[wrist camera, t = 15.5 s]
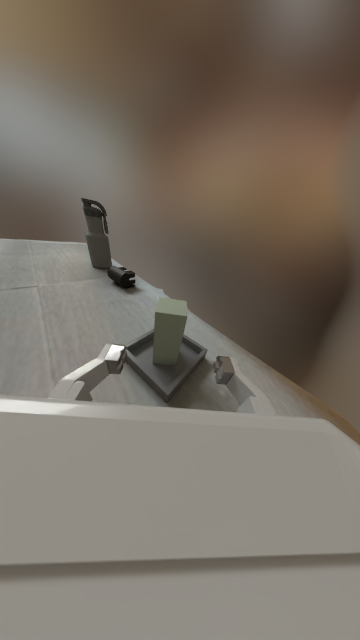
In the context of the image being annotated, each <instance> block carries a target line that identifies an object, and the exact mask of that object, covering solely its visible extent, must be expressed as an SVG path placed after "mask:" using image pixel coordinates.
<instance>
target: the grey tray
mask: <svg viewBox="0 0 360 640" xmlns="http://www.w3.org/2000/svg"><path fill="white" fill-rule="evenodd" d="M153 343H154V329H153V330H151V331H149V332H147V333H146V334H144V335H142V336H140V337H139V338H137V339H135V340H133V341H131V342H130V343H128V344H126V347H127V349H126V351H127V358H126V362H127V363H128V364H129V365H130V366H131V367H132V368H133V369H134V370H135V371H136V372H137V373H138V374H139V375H140V376H141V377H142V378H143V380H144V381H145V382H146V383H147V384H148V385H149V386H150V387H151V388H152V389H153V390H154V391H155V392H156V393H157V394H158V395H159V396H160V397H161V398H162V399H163V400H164V401H165V402H166V403H167V401H168V400H169V399H170V398H171V397H172V395H173V394H174V393H175V392H176V391H177V390H178V388H179V387H180V386H181V385H182V384H183V382H184V381H185V380H186V379H187V378H188V376H189V375H190V374H191V373H192V372H193V370H194V369H195V368H196V367H197V366H198V365H199V363H200V362H201V361H202V360H203V359H204V357H205V355H206V353H207V349H205V348H204V347H202V346H201V345H199V344H198V343H196V342H195V341H193V340H192V339H190V338H189V337H187V336H186V335H184V334H183V337H182V342H181V346H180V350H179V354H178V359H177V363H176V366H172V365H162V364H152V361H153Z"/></svg>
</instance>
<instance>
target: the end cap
mask: <svg viewBox="0 0 360 640" xmlns="http://www.w3.org/2000/svg"><path fill="white" fill-rule="evenodd" d="M124 270H127V269H126V268H124V267H120V268H117V267H115V266H112V267H110V268H109V269H108V276H109V278H110V279H112V280H113V281H115V282H116V283H118V284H120V285H121V286H123V287H125V288H131V287H135V285H134V283H135V280H129V279H130V278H133V277H135V273H134V272H132V271H124Z"/></svg>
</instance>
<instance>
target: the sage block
mask: <svg viewBox="0 0 360 640" xmlns="http://www.w3.org/2000/svg"><path fill="white" fill-rule="evenodd" d="M186 320H187V305H186V301H181V300H174V299H167V298H159V301H158V305H157V308H156V311H155V326H154V343H153V361H152V364H162V365H172V366H176V363H177V359H178V354H179V350H180V346H181V342H182V337H183V333H184V329H185V324H186Z"/></svg>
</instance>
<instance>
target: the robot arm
mask: <svg viewBox="0 0 360 640" xmlns="http://www.w3.org/2000/svg"><path fill="white" fill-rule="evenodd" d="M126 349H127V347H126V345H119V344H111V343H107V344H106V345H105V346H104V348H103V350H102V351H101V353H100V354H99V356H98V357H97V359H93V360H92V361H90V362H89V363H87V364H85V365H84V366H82V367H80V368H79V369H77V370H75V371H74V372H72V373H71V374H69V375H67V376H66V377H64V378H62V379H61V380H60V382H59V383H58V384H57V385H56V387H55V388H54V389H53V391H52V392H51V393H50V394H49V396H48V397H47V398H38V397H24V396H10V395H0V640H360V445H358V444H357V443H356V442H355V441H353V440H352V439H351V438H350V437H348V436H347V435H346V434H344V433H343V432H342V431H341V430H339V429H338V428H337V427H335V426H334V425H333V424H331V423H330V422H328V421H327V420H324V419H320V418H306V417H293V416H279V415H276V413H275V411H274V409H273V407H272V405H271V403H270V401H269V399H268V397H267V396H266V395H265V394H263V393H262V392H261V391H260V390H259V389H258V388H257V387H256V386H255V385H254V384H253V383H252V382H251V381H250V380H249V379H248V378H247V377H246V376H245V375H244V374H242V373H241V371H240V368H239V366H238V364H237V361H236V359H235V358H232V357H224V356H218V357H217V358H216V359H217V361H215V362H214V365H213V369H214V372H215V373H216V376H215V378H216V382H217V384H225V385H226V386H227V387H228V389H229V390H230V392H231V393H232V394H233V396H234V397H235V398H236V400H237V401H238V402H239V404H240V405H241V406H240V407H239V408H237V410H236V411H237V412H226V411H212V410H199V409H186V408H172V407H159V406H145V405H132V404H118V403H105V402H91V401H92V397H91V395H90V393H89V392H90V391H91V390H92V389H93V388H95V387H96V386H97V385H98V384H99V383H100V382H101V381H102V380H104V379H105V378H106V377H107V376H108V375H109V374H121V371H122V369H123V364H124V363H125V361H126V358H127V351H126Z"/></svg>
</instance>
